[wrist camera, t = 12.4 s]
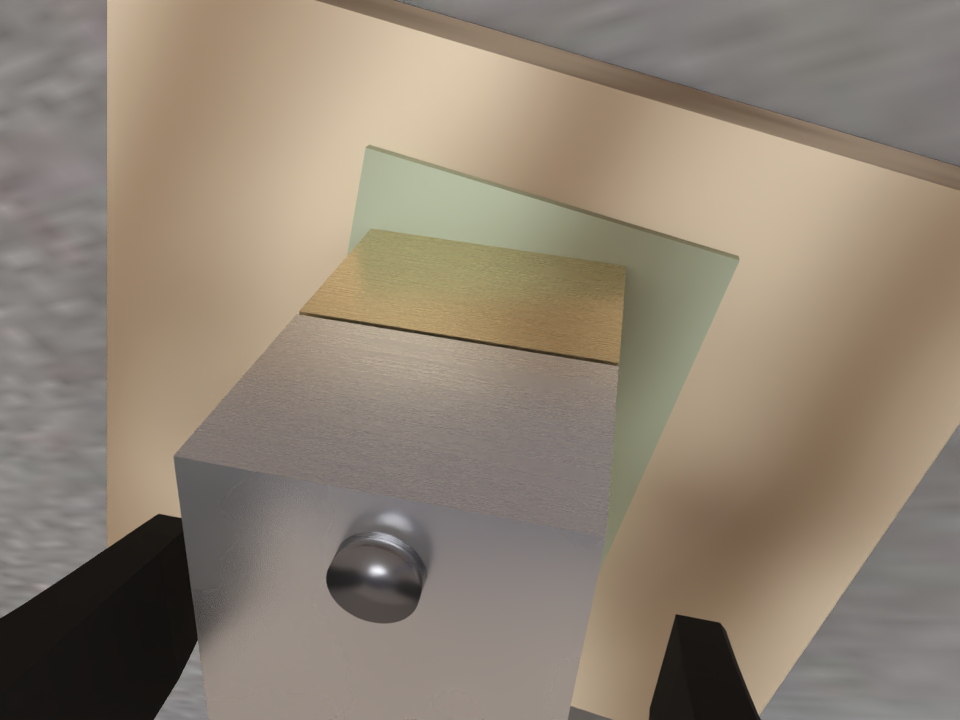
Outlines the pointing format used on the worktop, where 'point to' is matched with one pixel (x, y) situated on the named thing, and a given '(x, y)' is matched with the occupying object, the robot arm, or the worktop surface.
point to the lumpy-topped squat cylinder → (583, 715)
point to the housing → (410, 491)
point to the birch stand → (562, 232)
